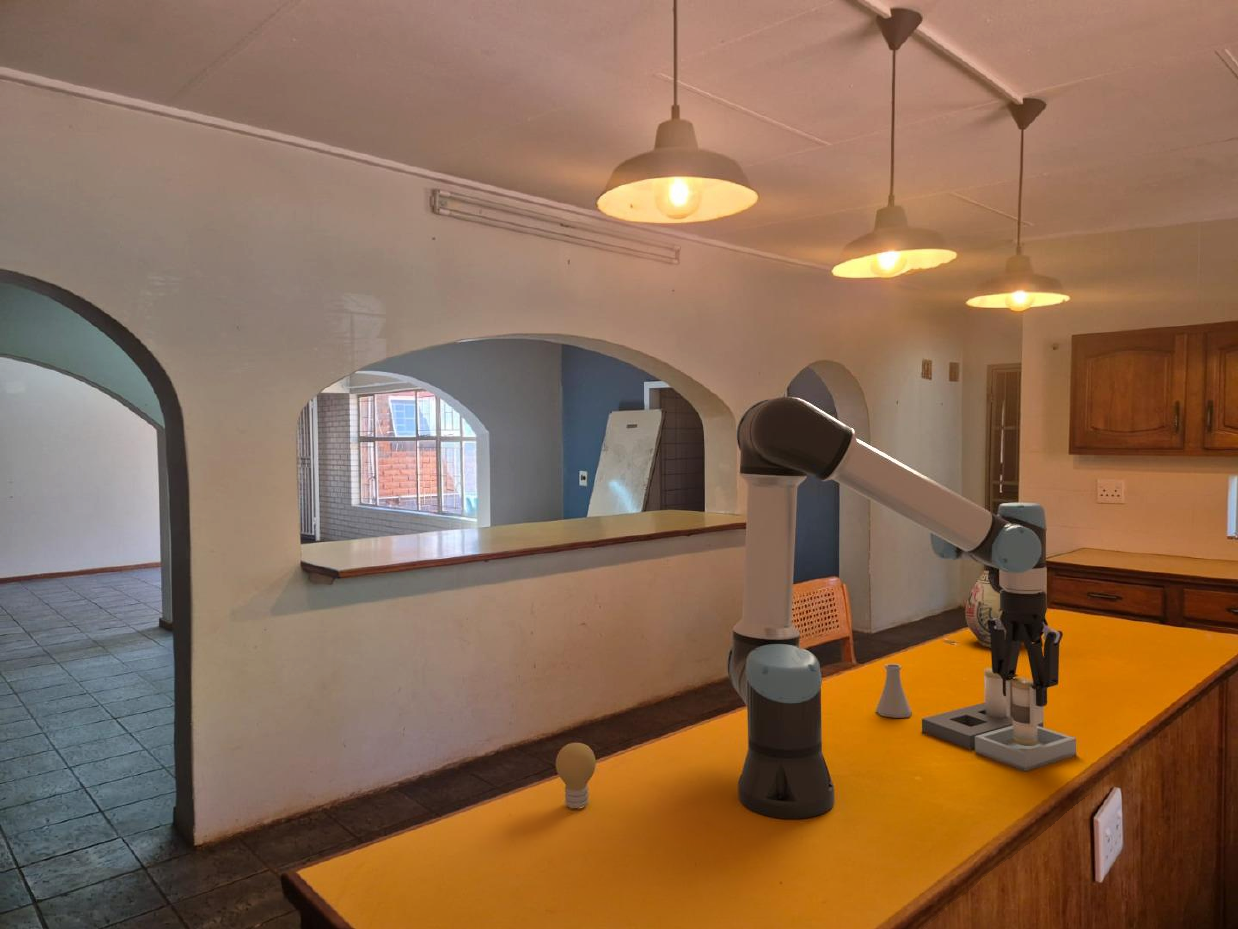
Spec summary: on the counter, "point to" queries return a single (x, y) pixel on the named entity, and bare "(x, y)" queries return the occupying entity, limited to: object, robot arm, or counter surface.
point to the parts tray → (1025, 748)
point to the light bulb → (576, 772)
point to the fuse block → (964, 725)
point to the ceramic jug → (984, 605)
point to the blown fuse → (1023, 713)
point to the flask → (893, 695)
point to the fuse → (994, 695)
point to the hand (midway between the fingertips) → (1024, 719)
